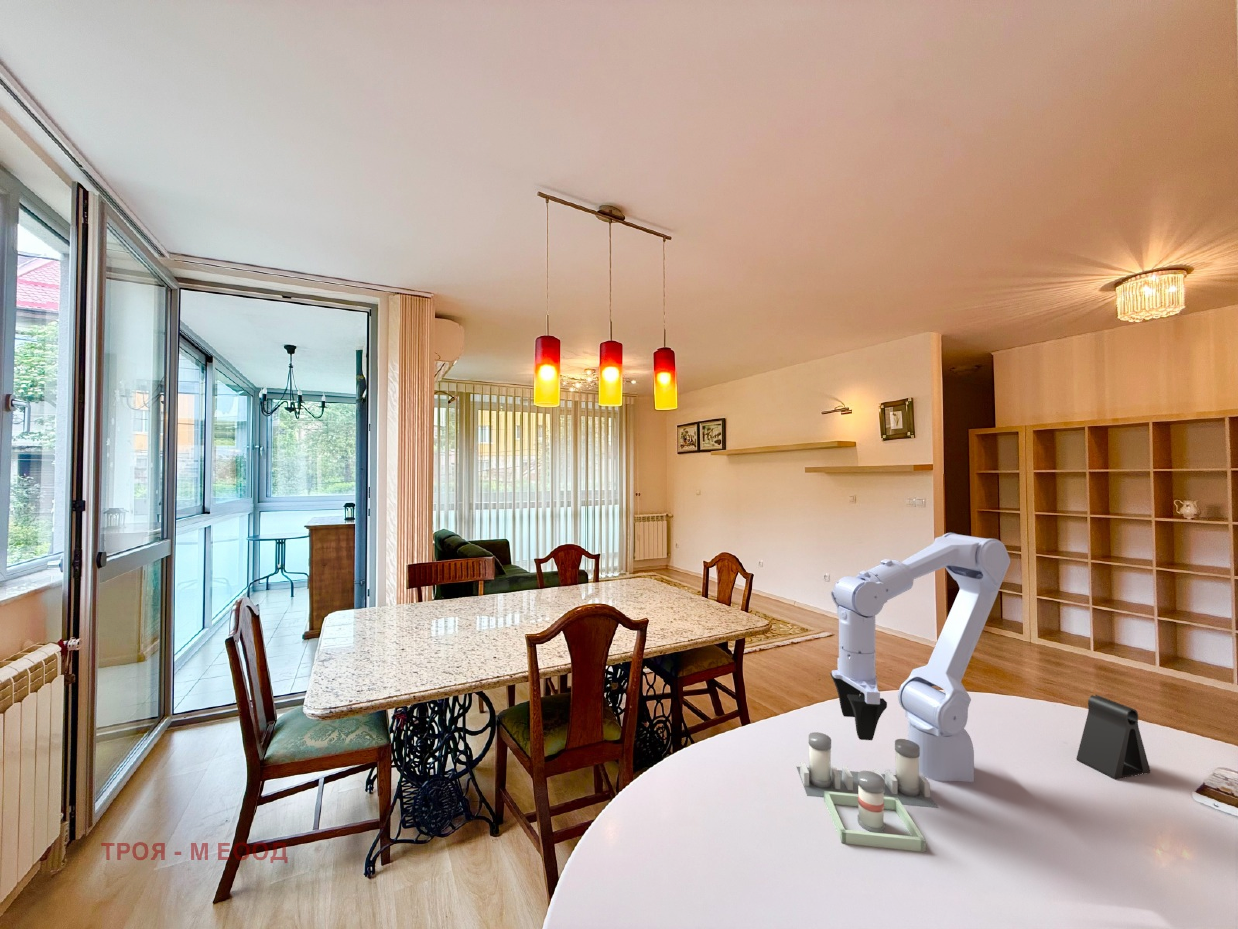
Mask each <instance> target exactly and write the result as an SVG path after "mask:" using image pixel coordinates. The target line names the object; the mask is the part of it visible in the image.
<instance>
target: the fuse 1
mask: <svg viewBox="0 0 1238 929" xmlns="http://www.w3.org/2000/svg"><path fill="white" fill-rule="evenodd" d="M808 745H809V746H808V752H809V754H808V759H809V760H808V768H809V782H810V783H811V784H812V785H813V786H815V787H818V788H822V789H826V788H829V787H831V765H832V764H831V760H832V757H831V756H832V754H831V752H832V751H831V749H832V739H831V737H830V736H829V735H827V734H826V733H822V732H816V731H814V732H813V731H812V732H810V733H809V734H808Z"/></svg>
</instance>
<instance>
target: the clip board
mask: <svg viewBox="0 0 1238 929" xmlns="http://www.w3.org/2000/svg"><path fill="white" fill-rule="evenodd" d="M796 769H797V771H798V774H799V775H798V776H799V778H800V780H801V783H802V785H803V788H804V791H805V793H806V796H807V797H817V798H824V791H829V792H840V793H851V794H858V773H859V772H860V771H851V770H850V769H849V768H848V766H846V765H842V767H841V769H837V766H836V765H834V764H831V787H829V788H826V789H822V788H818V787H815V786H813V785H812V784H811V783H810V782H809V766H808V767H807V765H806V762H800V763H799V766H796ZM872 772H874V773H876V774H878V775H880V776H881V777H882V778H883V779H884V797H894V798H898V799H899V800H900V802H901V804H902V805H903V806H912V807H913V806H915V807H926V808H937V809H939V806H938V805H937V804H936V802H935V801H934V800H933V798H932V797H931V783H930V782H929V781H928V778H926V777H924V775H923V774H922V773H919V785H920V794H919V796H916V797H910V796H906V795H904V794H902V793H900V792H898V781H897V779H896V778H895V774H894V773H893V772H892V771H891V769H885V770H884V773H881V771H879V769H878V768H872Z"/></svg>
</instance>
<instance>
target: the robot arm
mask: <svg viewBox="0 0 1238 929" xmlns="http://www.w3.org/2000/svg"><path fill="white" fill-rule="evenodd" d="M1010 565H1011V558H1010V556H1009V553H1008V551H1007V548H1006V546H1005V544H1004V543H1003V542H1002V541H1000V540H999V539H997V538H984V537H977V536H971V535H966V534H965V535H963V534H958V533H955V532H947V533H944V534H943V535H941V536H938V537H935V538H934V540H933V543H932V544H929V545H928V546H927V547H925V548H923V549H921V550H920V551H918V552H915V553H914V554H913V555H911V556H909V557H908V558H905V559H904V560H902V561H899V560H895V559H888V558H884V559H882V560H880V564H879V565H877V566H874V567H872V568H870V569H867V570H861V571H859V573H858V574H857V575H856V576H850V575H847V576H843V577H841V578H840V579H839V580H837V582H836V583H835V584H834V586H833V590H832V591H830V595H831V599H832V601H833V603H834V604H835V606H836V614H837V616H838V657H837V660H836V661H837V662H836V663H837V664H836V665H837V666H836V668H837V669H833V670H831V673H830V677H831V679H832V681H833V683H834V686H835V687H836V688H835V689H836V692H837V694H838V700H839V704H840V709H841V713H842V715H843V717H846V718H854V722H855V723H854V724H855V730H856V734H857V738H858V739H859V740H860V741H861V740H862V741H873V739H874V736H875V733H876V731H877V726H878V723H879V720H880V717H881V716H882V714H883V713H884V711H885V710H886V709H887V708H888V702H887V701H886V700H885V699H884V698H881V692H880V691H879V689H878V679H877V678H878V677H877V674H876V616H877V615H878V614H879V613H880V612H881V611H882V609H883V608H884V606H885V604H886V603H888V601H889V600H891V599H893V598H896V597H897V596H899V595H902V594H903V593H906V592H908V591H909V590H911V589H912V588H913V586H914V581H915V580H916V579H918V578H921V577H923V576H925V575H929V574H931V573H934V572H936V571H938V570H941V569H944V568H945V569H946V571H947V572H948V573H949V575H950V576H951V577H952V579H953V580H954V581H956V583H957V584H958V588H959V591H958V593H957V595H956V597H955V600H954V602H953V604H952V607H951V609H950V611H949V613H948V616H947V618H946V621H945V623H944V625H943V627H942V630H941V631H940V632H941V633H940V634H939V637H938V639H937V641H936V642H935V643H936V644H935V646H934V648H933V651H932V653H931V655H930V657H929V659H928V663H927V664H926V665H924V666H923V665H922V666H920V667H917V668H913V669H912V670H911V673H910V674H909V676H908V677H907V679H906V680H905V681H904V682H902V684H901V685H900V686H899V689H898V694H897V699H898V703H899V705H900V707H901V708H902V709H903V710H904V714H905V717H906V718H907V719H908V721H907V722H908V724H907V725H908V726H907V731H908V733H907V734H908V735H907V736H908V737H907V740H910V741H912V742H915V743H916V744H918V745H919V747H920V756H919V773H922V774H923V775H924V777H925V778H926V779H929V780H933V781H936V782H955V781H957V782H966V783H967V782H968V783H974V782H975V750H974V746H973V741H972V738H971V736H970V734H969V732H968V731H967V730H966V729H965V728H966V725H967V722H968V719H969V718H968V717H969V716H968V715H969V707H970V704H971V701H972V699H971V696H970V695H969V693H968V691H967V690H966V689H965V686H964V685H963V682H962V680H963V678H964V675H965V673H966V670H967V667H968V666H969V663H970V661H971V658H972V656H973V653H974V651H975V649H976V646H977V644H978V642H979V640H980V636H981V635H982V632H983V630H984V627H985V626H986V622H987V620H988V617H989V615H990V613H991V611H992V608H993V606H994V604H995V601H996V599H997V596H998V594H999V590H1000V588H1001V586H1002V583H1003V582H1004V578H1005V576H1006V574H1007V572H1008V569H1009V566H1010ZM935 687H936V688H935ZM937 688H939V689H942V690H943V691H944V692H943V691H941V690H939V689H937Z"/></svg>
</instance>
